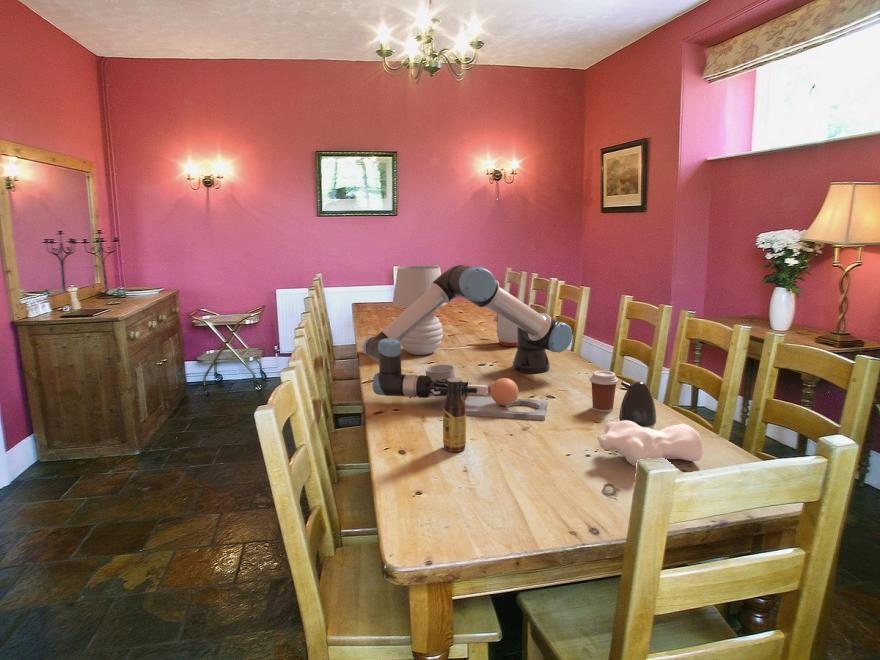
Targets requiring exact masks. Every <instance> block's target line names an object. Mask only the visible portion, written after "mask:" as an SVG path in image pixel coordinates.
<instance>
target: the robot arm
mask: <svg viewBox="0 0 880 660" xmlns="http://www.w3.org/2000/svg"><path fill="white" fill-rule="evenodd" d="M455 298H463V299H465V300H467V301H469V302H471V303H472V304H474V305H475V306H477V307H479V308H485V307H487V308H488V309H489V310H491V311H492V312H494V313H495V314H496V315H497V314H499V315H500V316H502V317H504V318H505V319H507V320H508V321H510V322H511V323H513V324H515V325H516V326H517V346H516V353H515V356H514V358H513V362H512V369H513V370H514V371H517V372H519V371H520V373H527V374H537V373H545V372H548V371H549V370H550V366H551V364H550V360H549V357H548V353H547V351H550V352H552V353H558V354H559V353H562V352H564V351H566V350H567V349H568V348H569V347H570V345H571V342H572V341H573V330H572V328H571V326H570V325H568V324H567V323H565V322H561V321H559V320H557V319H555V318H554V317H552V316H551V315H549V314H547V313H541V312H540V313H539V312H538V311H536V310H535V309H533V308H532V307H530V306H529V305H528V304H526V303H524V302H523V301H521V300H520V299H518V298H517V297H515V296H514V295H513V294H511V293H509V292H508V291H507V290H505V289H504V288H502V287H501V286H500V283H499V281H498V279H496V278H495V276H494V275H493V273H492V272H491V271H489V270H488V269H486V268H485V267H481V266H470V265H465V264H464V265H463V264H457V265H454V266H451V267H449V268H448V269H447V270H446V271H444V272H443V273H441V275H440V276H439V277H438V278H437V279H436V280H434V281H433V282H432V283H431V287H430V289H428V290H427V291H426V292H425V293H424V294H423V295H422V296H421V297H420V298H418V299H417V300H416V301H415V302H414V303H413V304H412V305H411V306H409V307H408V308H405V310H404V311H402V312H401V313H400V314H399V315H398V316H397V317H396V318H395V319H394V320H392V321H391V322H390V323H389V324H388V325H386V327H384V329H382V331H380V332H379V333H378V334H377V335H375V336H369V337H368V338H367V339H365V340H364V343H363V352H364V354H365V355H367V356H368V357H369V358H370V359H373V360H374V361H376V363H378V366H379V367H378V369H379V371H378V372H376V373H375V374H374V376H373V377H372V391H373V392H374V394H376V395H379V396H385V397H408V398H409V399H412V398H417V397H418V398H422V399H428V398H429V397H430V396H431V395H432V394H433V397H435V398H436V397H437V398H438V397H447V393H448V385H447V380H446V379H442V381H441V380H436V381H432V380H431V377H430V376H426V374H425V375H421V374H420V375H418V374H403V373H402V348H401V346H402V345H401V344H400V342H401V341H402V340H403V339H404V338H405V337H406V336H408V335H409V334H410V333H411V332H412V331H413V330H414V329H415V328H416V327H418V326H419V325H420V324H421V323H422V322H423V321H424V320H425V319H427V318H428V317H429V316H430V315H431V314H432V313H433V314H434V313H435V311H437V310H438V309H439V308H440V307H442V306H441V305H442V304H443V303H447V304H448V303H450V301H452V300H453V299H455ZM546 350H547V351H546ZM488 389H489V386H488V385H487V384H486V385H485V384H484V385H483V384H469V381H462V386H461V392H462V395H461V396H462V397H463V396H464V397H468V395H488V392H489V391H488Z"/></svg>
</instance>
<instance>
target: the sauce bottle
mask: <svg viewBox="0 0 880 660" xmlns="http://www.w3.org/2000/svg"><path fill="white" fill-rule="evenodd" d="M462 382H463V380H462V378H460V377H455V378H449V379H447V385H448V393H447V396H445V401H444V403H443V406H442V425H443V426H442V437H443V438H442V443H443V448H444V450H446V451H447V452H449V453H459V452H462V451H465V448H466V444H467V415H466V404H465V399H464V397H463V396H461V395H462V392H461V386H462Z"/></svg>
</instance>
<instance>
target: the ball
mask: <svg viewBox="0 0 880 660" xmlns="http://www.w3.org/2000/svg"><path fill="white" fill-rule="evenodd" d="M518 387H519V386H518V385H517V383H516V382H515V381H514V380H512V379H511V378H509V377H508V378H507V377H502V378H499V379H497V380H495V381H494V382H493V383H492V385H491V388H490V397H492V398H493V400H494V401H495V402H496V403H497V404H499V405H503V406H507V405H510V404H512V403H514V402H515V400H516V399H518V397H519V388H518Z"/></svg>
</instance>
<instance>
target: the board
mask: <svg viewBox="0 0 880 660" xmlns="http://www.w3.org/2000/svg"><path fill="white" fill-rule="evenodd" d="M464 401H465V404H466V416H475V417H477V416H478V417H494V418H497V417H498V418H508V419H510V418H511V419H520V420H521V419H525V420H535V421H536V420H538V421H539V420H540V421H545V420H546V415H547V410H548V400H546V399H545V400H543V399H526V398H525V399H524V398H517V399H516V400H515V402H514V403H512V404H510V405H507V406H503V405H499V404H497V403H496V402H495V401H494V400H493V398H492V396H473V395H467V396H466V398H465V399H464ZM516 406H529V407H532V408H536V410H533V411H532V410H531V411H517V410H516V411H515V410H512V409H509V408H510V407H516Z"/></svg>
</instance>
